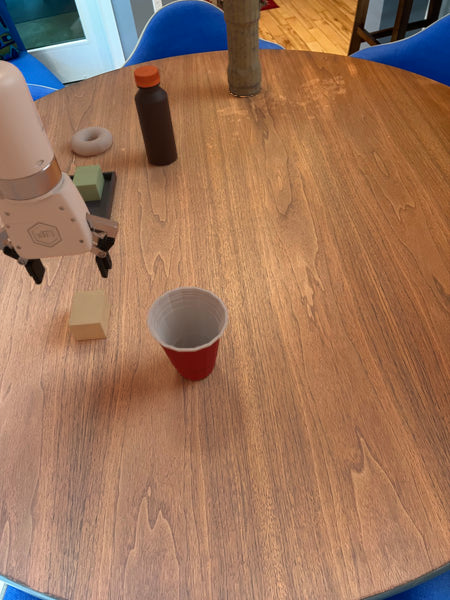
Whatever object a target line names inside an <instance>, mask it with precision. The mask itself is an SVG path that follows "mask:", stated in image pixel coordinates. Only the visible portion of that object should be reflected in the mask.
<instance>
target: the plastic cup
mask: <svg viewBox="0 0 450 600" xmlns="http://www.w3.org/2000/svg"><path fill="white" fill-rule="evenodd" d="M228 324H229V311H228V308H227V306H226V304H225V302H224V301H223V299H222V298H221V297H219V296H218V295H216V293H214V292H212V291H211V290H209V289H205V288H202V287H199V286H179V287H176V288H172V289H170V290H167V291H165V292H164V293H162V294H161V295H160V296H158V297H157V298H156V299H154V301H153V302H152V303H151V306H150V307H149V309H148V310H147V317H146V326H147V328H148V331H149V333H150V335H151V337H152V338H153V339H154V340H155V341H156V342H157V343H158V344H159V346H160V347H161V348H162V349H163V351H164V353H165V355H166V357H167V358H168V359H169V361H170V362H171V364H172V365H173V367H174V368H175V370H176V371H177V373H178V374H179V375H180V376H181V377H182V378H184V379H185V380H188V381H191V382H195V381H201V380H203V379H206V378H208V376H210V375H211V374H212V373H213V371H214V368H215V366H216V362H217V356H218V354H219V353H218V352H219V346H220V340H221V338H222V336H223V335H224V332H225V331H226V328H227V327H228Z"/></svg>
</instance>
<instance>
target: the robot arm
mask: <svg viewBox="0 0 450 600" xmlns="http://www.w3.org/2000/svg"><path fill="white" fill-rule="evenodd" d="M42 121H43V120H42V119H41V116H40V114H39V112H38V109H37V106H36V104H35V101H34V99H33V96H32V94H31V91H30V88H29V86H28V83H27V80H26V78H25V76H24V75H23V73H22V71H21V70H20V69H19V67H17V66H16V65H15V64H14V63H11V62H9V61H5V60H0V219H1V222H2V224H3V226H2V227H1V228H0V250H1V251H2V253H3V254H4V256H7V257H9V258H11V259H14V260H16V261H17V264H18V265H20V266H24V268H25V270H26V272H27V274H28V276H29V277H30V278H32V280H33V281H34V283H35V285H36V286H38V285H41V284H42V283H43V281H44V277H45V273H46V267H45V266H44V264H43V261H42V260H41V259H49V258H59V257H70V256H77V255H83V254H84V255H85V254H87V253H91V254H93V255H95V258H94V259H95V263H96V266H97V268H98V271H99V274H100V276H101V278H102V279H108V277H109V271H110V270H112V268H113V261H112V258H111V255H110V253H109V251H110V250H111V248H112V247H113V246H114V245H115V243H116V239H117V236H118V234H119V229H120V223H119V221H116V220H113V219H110V220H109V219H106V218H102V217H98V216H95V215H91V214H90V213H89V211H88V208H87V206H86V204H85V202H84V200H83V198H82V196H81V195H80V193H79V191H78V189H77V188H76V186H75V185H74V183H73V182H72V180H71V179H70V177H69V174H68V173H67V172H65V171H62V170H61V167H60V164H59V162H58V159H57V157H56V154H55V152H54V149H53V147H52V145H51V141H50V139H49V137H48V134H47V131H46V129H45V126H44V124H43V122H42ZM95 229H97V230H101V231H105V232H104V233H105V234H104V236H103V235H101V234H100V233H96V232H94V231H95Z"/></svg>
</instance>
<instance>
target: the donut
mask: <svg viewBox="0 0 450 600" xmlns="http://www.w3.org/2000/svg"><path fill="white" fill-rule="evenodd" d="M113 140H114V138H113V134H112V133H111V132H110V130H108V129H107V128H105V127H103V126H94V125H93V126H89V127H88V126H87V127H84V128H81V129H79V130H77V131H76V132H75V133H73V135H71V138H70V141H69V144H70V149H71V150H72V151H73V152H74V153H75V154H77V155H79V156H81V157H82V156H83V157H93V156H98V155H101V154H103V153H105V152H106V151H108V150H109V149H110V148H111V147H112V144H113V143H114V141H113Z"/></svg>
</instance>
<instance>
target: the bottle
mask: <svg viewBox="0 0 450 600" xmlns="http://www.w3.org/2000/svg"><path fill="white" fill-rule="evenodd" d="M133 77H134V82H135V85H136V87H137V88H138V90H137V92H136V93H135V95H134V104H135V108H136V113H137V117H138V121H139V126H140V131H141V136H142V140H143V144H144V150H145V153H146V158H147V161H148V163H149V164H150V165H151V166H154V167H166V166H167V167H168V166H169V165H172V164H173V163H175V162H176V161H177V160H178V150H177V144H176V138H175V137H176V136H175V132H174V125H173V120H172V119H173V118H172V115H171V113H172V112H171V108H170V102H169V96H168V92H167V91H166V90H165V89H164V88H162V87H161V86H160V85H161V76H160V71H159V67H157V66H155V65H143V66H139V67H137V68H136V69H134V71H133Z"/></svg>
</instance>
